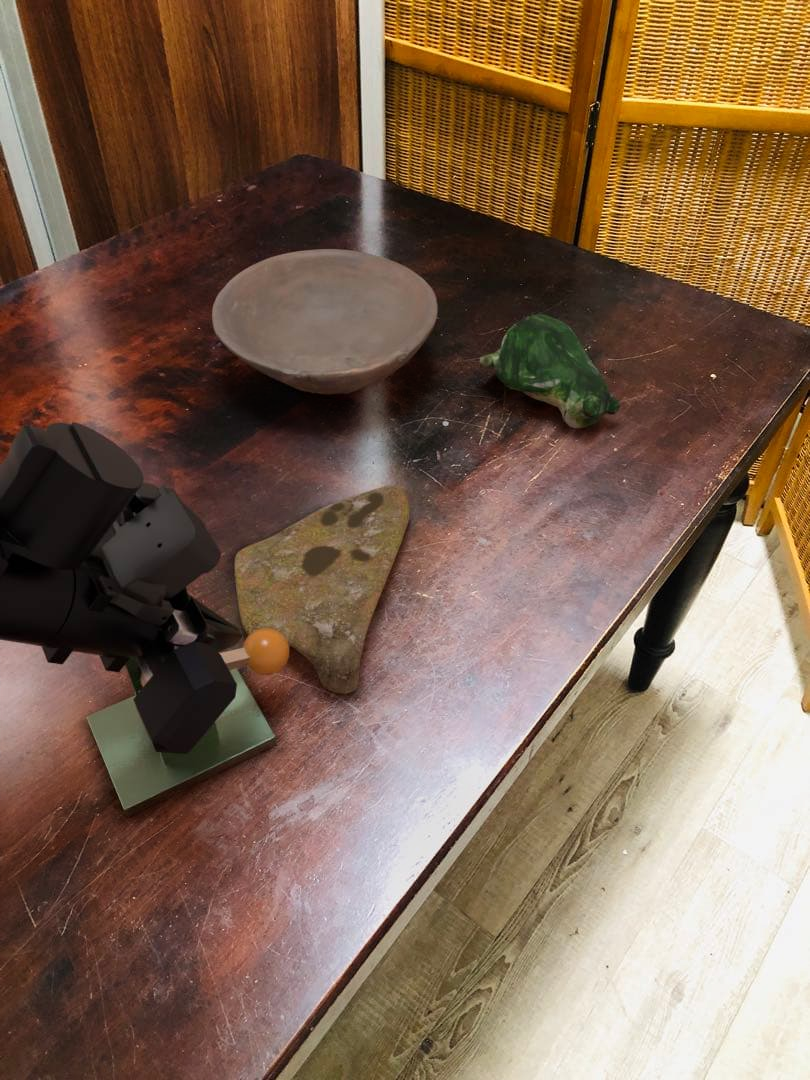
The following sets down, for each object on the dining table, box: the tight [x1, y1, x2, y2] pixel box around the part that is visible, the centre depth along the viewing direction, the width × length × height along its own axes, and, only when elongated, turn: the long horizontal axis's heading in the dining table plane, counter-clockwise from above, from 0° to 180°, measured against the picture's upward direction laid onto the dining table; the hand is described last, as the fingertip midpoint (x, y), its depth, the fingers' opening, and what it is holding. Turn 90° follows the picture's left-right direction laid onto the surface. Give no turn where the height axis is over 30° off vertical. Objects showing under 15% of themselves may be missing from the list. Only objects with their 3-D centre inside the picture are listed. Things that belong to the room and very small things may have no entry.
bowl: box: [211, 248, 439, 395], centre depth 100 cm, size 25×25×8 cm
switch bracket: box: [85, 658, 277, 818], centre depth 65 cm, size 12×9×10 cm
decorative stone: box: [234, 484, 411, 694], centre depth 81 cm, size 25×15×5 cm, turn 165°
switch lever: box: [140, 628, 290, 687], centre depth 66 cm, size 11×4×4 cm, turn 121°
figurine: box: [477, 313, 621, 429], centre depth 97 cm, size 14×9×15 cm
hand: (237, 637), depth 65 cm, fingers closed
